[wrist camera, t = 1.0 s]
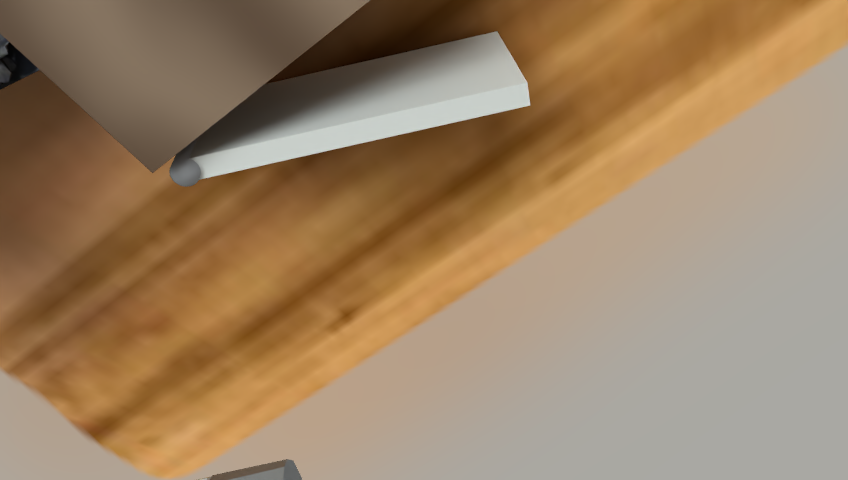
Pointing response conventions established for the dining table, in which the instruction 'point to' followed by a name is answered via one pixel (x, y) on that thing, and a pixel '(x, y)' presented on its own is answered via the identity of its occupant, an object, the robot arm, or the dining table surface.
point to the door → (358, 106)
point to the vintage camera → (13, 64)
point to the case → (165, 58)
